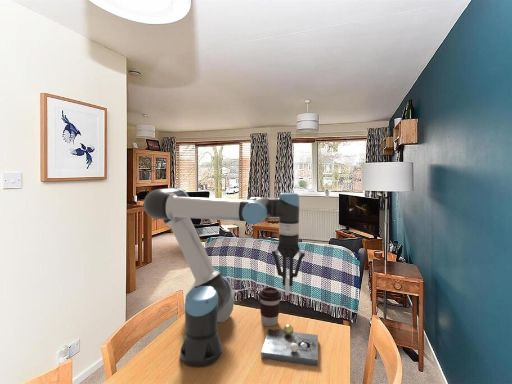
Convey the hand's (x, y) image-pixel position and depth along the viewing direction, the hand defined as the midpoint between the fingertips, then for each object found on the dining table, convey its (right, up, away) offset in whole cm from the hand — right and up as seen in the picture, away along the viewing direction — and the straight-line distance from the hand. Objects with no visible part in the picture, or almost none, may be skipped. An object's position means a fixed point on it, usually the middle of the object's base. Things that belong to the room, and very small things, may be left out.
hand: (287, 293), depth 114 cm
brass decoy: (+1, -16, +4) cm, 16 cm away
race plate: (+1, -21, -2) cm, 21 cm away
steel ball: (+6, -19, -3) cm, 20 cm away
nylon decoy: (+2, -17, -7) cm, 19 cm away
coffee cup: (-6, -19, +18) cm, 27 cm away
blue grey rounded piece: (-33, -19, +22) cm, 44 cm away
